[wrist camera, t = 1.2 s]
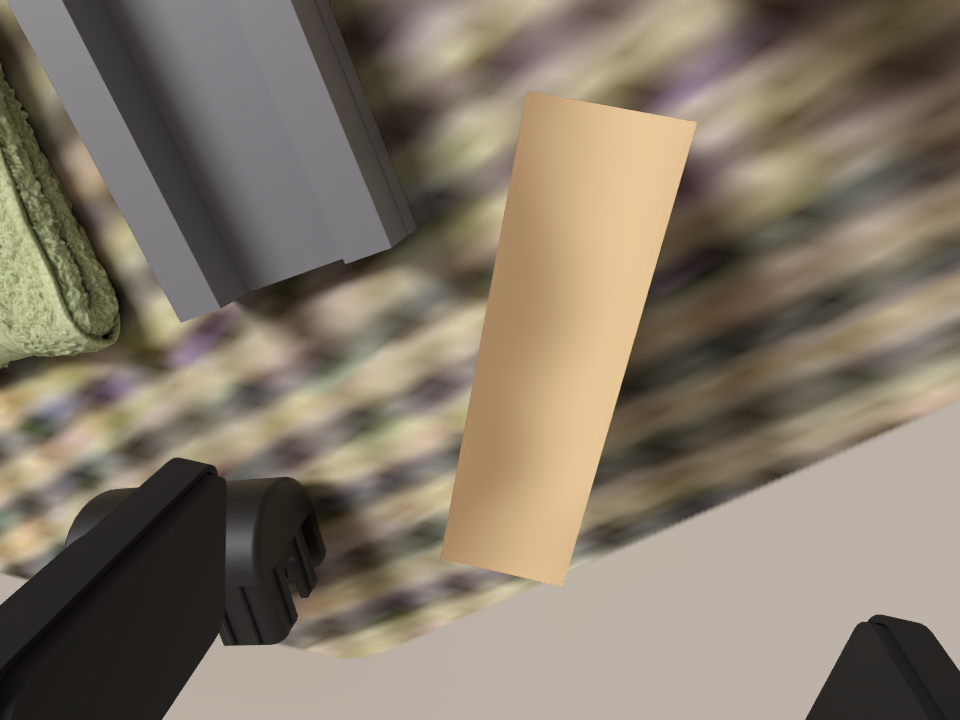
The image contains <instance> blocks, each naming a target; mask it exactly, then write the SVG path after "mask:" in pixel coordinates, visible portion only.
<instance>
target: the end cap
mask: <svg viewBox="0 0 960 720" xmlns="http://www.w3.org/2000/svg"><path fill="white" fill-rule="evenodd" d="M226 482H227V510H226V565H225V613H224V619H223V623H222V626H221V629H220V631H219V634H220V636H221V639H222V642H223V644H224V646H229V645H230V646H231V645H272V644H276V643H279V642H281V641H282V640H284V639H285V638H286V637H287V636H288V634H289V632H290V630H291V629H292V627H293V625H294V624H295V622H296V621H297V617H298V615H297V612H296V609H295V606H294V603H293V600H292V597H291V594H290V591H289V588H288V585H287V582H286V581H295V582H296V585H297V588H298V591H299V594H300V597H301V598H308V597H309V595H310V593H311V591H312V590H313V589H314V587H315V583H316V581H317V577H316V574H315V571H314V568H313V567H314V566H318V565H320V564H321V563H322V561H323V559H324V557H325V556H326V551H325V547H324V544H323V540H322V537H321V534H320V530H319V527H318V524H317V520H316V517H315V514H314V510H313V505H312V502H311V500H310V497H309V495H308V493H307V491H306V490H305V488H304V487H303V486H302V485H301V484H300V483H299V482H298V481H296V480H295V479H293V478H289V477H278V478H264V479H250V480H236V481H226ZM136 489H138V488H125V489H115V490H109V491H106V492H104V493H101V494H99V495H98V496H96V497H95V498H93V499H92V500H90V501H89V502H88V503H87V504H86V505H85V506H84V507H83V508H82V509H81V511H80V512H79V514H78V515H77V516H76V518H75V520H74V522H73V524H72V526H71V528H70V530H69V533H68V536H67V539H66V542H65V547H64V549H65V548H67V547H68V546H69V545H70V544H71V543H73V542H74V541H75V540H77V539H78V538H80V537H81V536H84V535H85V534H86V533H87V532H89V531H90V530H91V529H92V528H93V527H94V526H95V525H97V524H98V523H99V522H100V521H101V520H102V519H103V518H105V517H106V516H107V515H108V514H109V513H110V512H111V511H113V510H114V509H115V508H116V507H117V506H118V505H119V504H121V503H122V502H123V501H124V500H125V499H126V498H127V497H128V496H130V495H131V494H132V493H133V492H134V491H135V490H136Z"/></svg>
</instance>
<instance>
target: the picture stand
mask: <svg viewBox="0 0 960 720" xmlns="http://www.w3.org/2000/svg"><path fill="white" fill-rule="evenodd" d="M7 2H8V4H9V6H10V7H11V9H12V11H13V13H14V15H15V17H16V19H17V20H18V22H19V24H20V26H21V28H22V30H23V32H24V33H25V35H26V37H27V39H28V41H29V43H30V45H31V46H32V48H33V50H34V52H35V54H36V56H37V57H38V59H39V61H40V63H41V65H42V67H43V69H44V70H45V72H46V74H47V76H48V78H49V80H50V82H51V83H52V85H53V87H54V89H55V91H56V93H57V94H58V96H59V98H60V100H61V102H62V104H63V106H64V107H65V109H66V111H67V113H68V115H69V117H70V119H71V120H72V122H73V124H74V126H75V128H76V130H77V131H78V133H79V135H80V137H81V139H82V141H83V143H84V144H85V146H86V148H87V150H88V152H89V154H90V156H91V157H92V159H93V161H94V163H95V165H96V167H97V168H98V170H99V172H100V174H101V176H102V178H103V180H104V181H105V183H106V185H107V187H108V189H109V191H110V193H111V194H112V196H113V198H114V200H115V202H116V204H117V205H118V207H119V209H120V211H121V213H122V215H123V217H124V218H125V220H126V222H127V224H128V226H129V228H130V230H131V231H132V233H133V235H134V237H135V239H136V241H137V242H138V244H139V246H140V248H141V250H142V252H143V254H144V255H145V257H146V259H147V261H148V263H149V265H150V267H151V268H152V270H153V272H154V274H155V276H156V278H157V280H158V281H159V283H160V285H161V287H162V289H163V291H164V292H165V294H166V296H167V298H168V300H169V302H170V304H171V305H172V307H173V309H174V311H175V313H176V315H177V317H178V318H179V320H180V322H184V321H187V320H190V319H192V318H195V317H198V316H201V315H204V314H206V313H209V312H212V311H215V310H218V309H221V308H222V307H224V306H226V305H228V304H229V303H231V302H233V301H235V300H236V299H238V298H240V297H242V296H243V295H245V294H247V293H249V292H251V291H254V290H257V289H259V288H262V287H265V286H268V285H271V284H273V283H276V282H279V281H282V280H285V279H287V278H290V277H293V276H296V275H299V274H301V273H304V272H307V271H310V270H313V269H315V268H318V267H321V266H324V265H327V264H329V263H332V262H335V261H338V260H341V259H343V260H344V263H345V264H347V263H350V262H353V261H356V260H359V259H361V258H364V257H367V256H370V255H373V254H376V253H378V252H381V251H384V250H387V249H390V248H392V247H393V246H395V245H396V244H397V243H398V242H400V241H401V240H402V239H404V238H405V237H406V236H408V235H410V234H411V233H413V232H414V231H415V230H416V229H418V228H417V226H416V223H415V220H414V218H413V215H412V213H411V210H410V208H409V205H408V203H407V200H406V197H405V195H404V192H403V190H402V187H401V185H400V182H399V180H398V177H397V174H396V172H395V169H394V167H393V164H392V162H391V159H390V157H389V154H388V151H387V149H386V146H385V144H384V141H383V139H382V136H381V134H380V131H379V128H378V126H377V123H376V121H375V118H374V116H373V113H372V110H371V108H370V105H369V103H368V100H367V98H366V95H365V93H364V90H363V87H362V85H361V82H360V80H359V77H358V75H357V72H356V70H355V67H354V64H353V62H352V59H351V57H350V54H349V52H348V49H347V47H346V44H345V41H344V39H343V36H342V34H341V31H340V29H339V26H338V24H337V21H336V18H335V16H334V13H333V11H332V8H331V6H330V3H329V0H7Z"/></svg>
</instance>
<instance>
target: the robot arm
mask: <svg viewBox="0 0 960 720" xmlns="http://www.w3.org/2000/svg"><path fill="white" fill-rule="evenodd" d="M226 510H227V482H226V480H225V479H224V478H222V477H218V473H217V470H216V467H214V466H213V465H210V464H205V463H201V462H196V461H192V460H187V459H183V458H173V459H171V460H170V461H168V462H167V463H166V464H165V465H164V466H163V467H161V468H160V469H159V470H158V471H157V472H156V473H155V474H154V475H152V476H151V477H150V478H149V479H148V480H147V481H146V482H144V483H143V484H142V485H141V486H140V487H139V488H138V489H136V490H135V491H134V492H133V493H132V494H131V495H130V496H128V497H127V498H126V499H125V500H124V501H123V502H122V503H121V504H119V505H118V506H117V507H116V508H115V509H114V510H113V511H111V512H110V513H109V514H108V515H107V516H106V517H105V518H103V519H102V520H101V521H100V522H99V523H98V524H97V525H95V526H94V527H93V528H92V529H91V530H90V531H89V532H87V533H86V534H85V535H84V536H81V537H80V538H78V539H77V540H75V541H74V542H73V543H71V544H70V545H69V546H68V547H67V548H65V549H64V550H63V551H62V552H61V553H60V554H58V555H57V556H56V557H55V558H54V559H53V560H52V561H50V562H49V563H48V564H47V565H46V566H45V567H44V568H42V569H41V570H40V571H39V572H38V573H37V574H36V575H34V576H33V577H32V578H31V579H30V580H29V581H27V582H26V583H25V584H24V585H23V586H22V587H21V588H20V589H18V590H17V591H16V592H15V593H14V594H13V595H11V596H10V597H9V598H8V599H7V600H6V601H5V602H3V603H2V604H1V605H0V720H162V719H163V717H164V716H165V714H166V713H167V711H168V710H169V708H170V707H171V705H172V704H173V702H174V701H175V699H176V698H177V696H178V695H179V693H180V692H181V690H182V689H183V687H184V686H185V684H186V683H187V681H188V680H189V678H190V676H191V675H192V673H193V672H194V670H195V669H196V668H197V666H198V664H199V663H200V661H201V660H202V658H203V657H204V655H205V654H206V652H207V651H208V649H209V648H210V646H211V645H212V643H213V642H214V640H215V638H216V637H217V635H218V633H219V631H220V629H221V626H222V623H223V619H224V613H225V565H226ZM806 720H960V671H959V670H958V668H957V667H956V665H955V664H954V663H953V661H952V660H951V658H950V657H949V656H948V654H947V653H946V651H945V650H944V649H943V647H942V646H941V644H940V643H939V642H938V640H937V639H936V637H935V636H934V634H933V633H932V632H931V631H930V630H929V629H928V628H927V627H926V626H924V625H922V624H920V623H917V622H912V621H908V620H903V619H898V618H894V617H890V616H885V615H875V616H873V617H871V618H870V619H869V620H868V622H861V623H859V624H858V625H857V626H856V627H855V629H854V631H853V632H852V634H851V636H850V638H849V640H848V642H847V644H846V645H845V647H844V649H843V651H842V653H841V655H840V656H839V658H838V660H837V662H836V664H835V666H834V668H833V669H832V671H831V673H830V675H829V677H828V679H827V681H826V682H825V684H824V686H823V688H822V690H821V692H820V693H819V695H818V697H817V699H816V701H815V703H814V705H813V706H812V708H811V710H810V712H809V714H808V716H807V718H806Z"/></svg>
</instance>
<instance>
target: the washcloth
mask: <svg viewBox="0 0 960 720" xmlns="http://www.w3.org/2000/svg"><path fill="white" fill-rule="evenodd" d="M14 96H15V91H14V89H11V88H10V87H9V85H8V83H7V81H4V74H3V72H2V64H1V63H0V369H1V367H6V368H8V364H9V362H10V361H13V360H19V359H22V358H26V357H30V356H32V355H36V356H38V357H41V356H47V357H54V356H56V357H57V356H59V355H67V356H76V355H77V354H79V353H85V352H98V351H99V350H101V349H105V348H107V347H109V346H111V345H113V344H115V343H116V341H117V340H118V338H119V334H120V314H119V312H118V310H119V305H118V300H117V299H116V297H115V291H114V289H113V288H112V286H111V283H110V282H109V280H108V277H107V274H106V272H105V270H104V268H103V267H102V265H101V264H100V263H99V262H97V259H96V255H95V253H94V250H93V248H92V246H91V243H90V241H89V239H88V237H87V235H86V233H85V230H84V229H83V227H82V226H81V225H80V224H79V223H78V222H77V220H76V219H75V217H74V216H73V212H72V204H71V202H70V201H69V199H68V197H67V195H66V194H65V192H64V190H63V188H62V185H61V183H60V181H59V180H58V177H57V176H56V175H55V173H54V172H53V170H52V168H51V166H50V164H49V161H48V160H47V159H46V157H45V155H44V154H43V153H42V152H41V150H40V149H39V146H38V143H37V140H36V136H35V135H34V134H33V133H34V131H33V130H32V128H31V126H30V124H28V123H27V121H26V120H25V119H27V118H28V117H29V115H28V113H27V112H25V111H22V110H21V109H20V108H21V107H22V104H20V102H19V101H17V100H16V99H15V97H14Z"/></svg>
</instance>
